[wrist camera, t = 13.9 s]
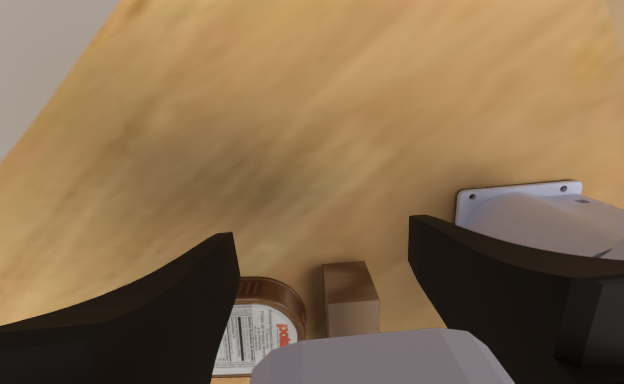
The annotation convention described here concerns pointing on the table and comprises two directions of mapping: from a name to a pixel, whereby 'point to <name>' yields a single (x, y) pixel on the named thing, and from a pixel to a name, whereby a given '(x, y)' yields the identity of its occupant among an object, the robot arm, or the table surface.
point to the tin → (259, 326)
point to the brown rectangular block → (350, 300)
